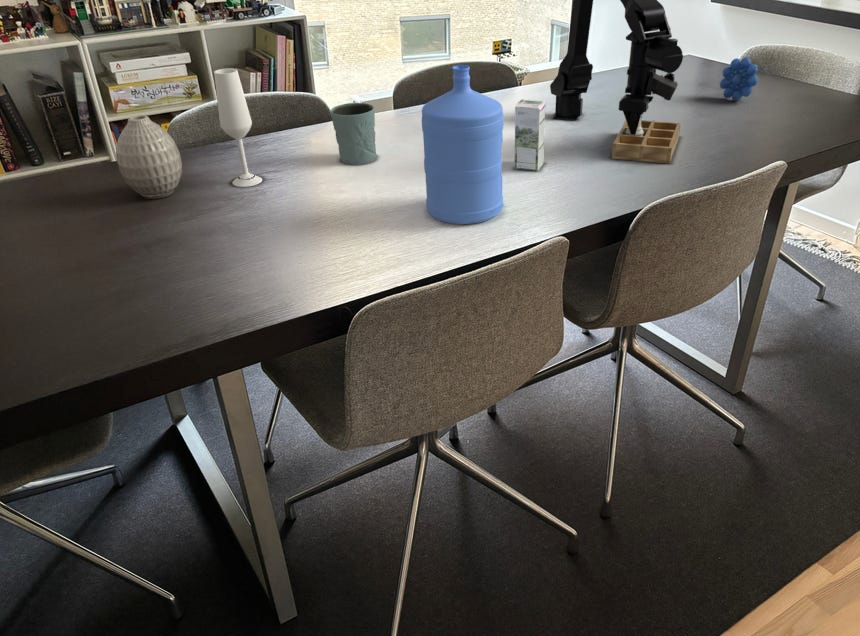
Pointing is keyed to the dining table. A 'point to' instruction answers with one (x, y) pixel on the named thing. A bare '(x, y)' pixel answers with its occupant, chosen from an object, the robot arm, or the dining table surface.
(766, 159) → the dining table surface
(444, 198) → the water jug
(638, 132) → the rook chess piece
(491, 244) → the dining table surface
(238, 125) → the champagne flute
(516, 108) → the syrup box
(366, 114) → the green embossed cup
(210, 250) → the dining table surface
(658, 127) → the rack
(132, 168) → the vase
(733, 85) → the grapes
